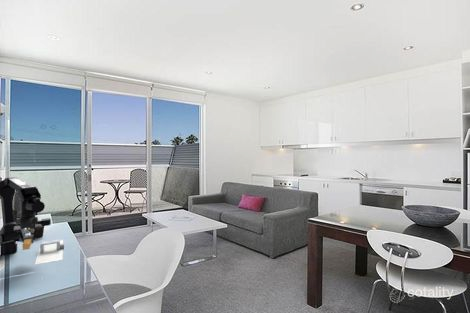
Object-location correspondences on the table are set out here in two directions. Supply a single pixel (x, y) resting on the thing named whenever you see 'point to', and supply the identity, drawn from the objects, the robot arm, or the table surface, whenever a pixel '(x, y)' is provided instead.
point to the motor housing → (59, 246)
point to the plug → (27, 241)
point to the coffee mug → (39, 233)
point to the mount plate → (50, 254)
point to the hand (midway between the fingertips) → (28, 240)
